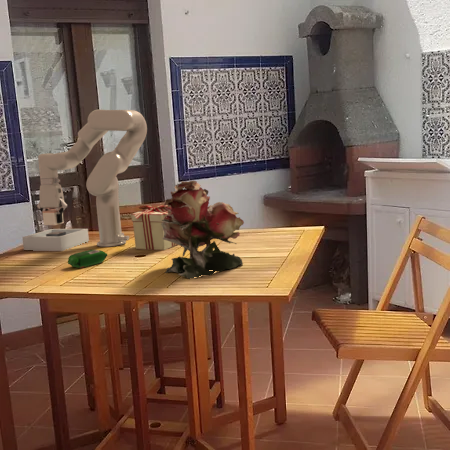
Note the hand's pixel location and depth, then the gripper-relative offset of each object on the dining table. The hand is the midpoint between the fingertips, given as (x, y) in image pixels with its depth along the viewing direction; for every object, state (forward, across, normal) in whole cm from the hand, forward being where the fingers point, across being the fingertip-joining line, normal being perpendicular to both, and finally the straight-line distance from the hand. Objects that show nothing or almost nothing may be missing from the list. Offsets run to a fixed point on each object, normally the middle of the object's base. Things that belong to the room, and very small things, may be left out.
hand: (53, 222), depth 281 cm
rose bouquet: (+10, -85, +34) cm, 92 cm away
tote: (+11, 0, 0) cm, 11 cm away
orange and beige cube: (+1, 0, 0) cm, 1 cm away
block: (+10, -1, 0) cm, 10 cm away
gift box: (+10, -52, 0) cm, 53 cm away
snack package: (+11, -40, +33) cm, 53 cm away
